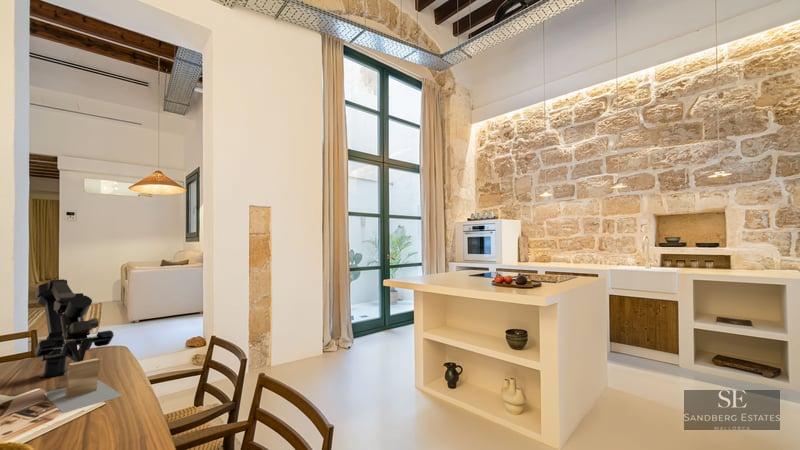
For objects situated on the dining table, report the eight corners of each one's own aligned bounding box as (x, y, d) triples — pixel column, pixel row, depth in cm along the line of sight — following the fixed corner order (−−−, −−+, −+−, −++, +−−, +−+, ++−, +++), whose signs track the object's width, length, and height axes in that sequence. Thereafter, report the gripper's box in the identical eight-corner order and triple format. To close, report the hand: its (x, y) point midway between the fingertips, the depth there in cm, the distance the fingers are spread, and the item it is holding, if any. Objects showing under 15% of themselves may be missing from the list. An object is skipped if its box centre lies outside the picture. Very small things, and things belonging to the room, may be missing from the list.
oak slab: (65, 395, 105) (68, 363, 106) (93, 388, 111) (96, 358, 112) (67, 397, 104) (71, 365, 105) (96, 390, 110) (99, 359, 110)
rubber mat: (42, 394, 106) (42, 393, 106) (98, 380, 118) (98, 379, 118) (62, 414, 95) (63, 412, 95) (122, 396, 107) (123, 395, 107)
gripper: (41, 315, 106) (47, 356, 100) (114, 308, 122) (123, 343, 115) (32, 336, 110) (37, 377, 103) (104, 326, 126) (112, 361, 119)
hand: (80, 363), depth 110 cm, fingers closed
